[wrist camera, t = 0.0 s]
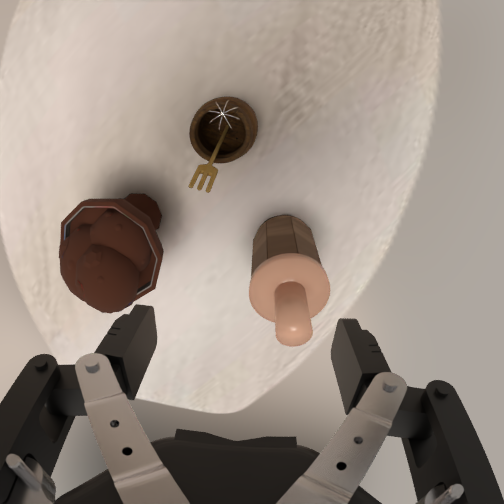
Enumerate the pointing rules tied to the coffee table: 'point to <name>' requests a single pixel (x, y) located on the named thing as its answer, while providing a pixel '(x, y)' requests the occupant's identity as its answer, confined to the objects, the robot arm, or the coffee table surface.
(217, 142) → the utensil holder
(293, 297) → the lid
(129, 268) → the ice cream bowl
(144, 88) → the coffee table surface
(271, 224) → the canister
